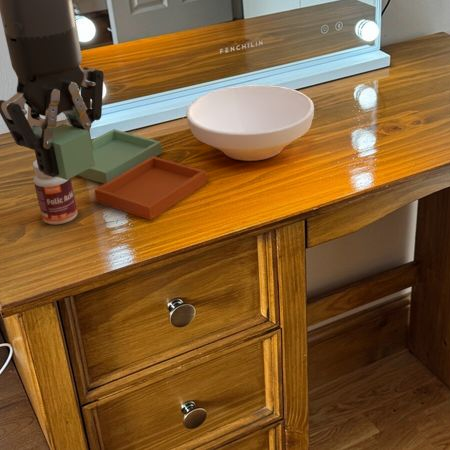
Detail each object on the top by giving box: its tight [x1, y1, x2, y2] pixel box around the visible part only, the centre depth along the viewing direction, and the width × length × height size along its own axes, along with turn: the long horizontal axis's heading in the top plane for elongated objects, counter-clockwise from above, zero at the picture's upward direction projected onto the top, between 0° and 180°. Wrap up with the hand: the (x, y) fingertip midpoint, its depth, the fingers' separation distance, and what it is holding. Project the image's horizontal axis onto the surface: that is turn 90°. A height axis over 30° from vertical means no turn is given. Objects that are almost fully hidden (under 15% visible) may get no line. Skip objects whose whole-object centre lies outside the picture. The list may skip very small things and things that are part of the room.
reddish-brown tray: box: [94, 156, 208, 221], centre depth 109 cm, size 12×10×2 cm
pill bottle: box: [32, 159, 78, 225], centre depth 102 cm, size 5×5×8 cm
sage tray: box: [77, 128, 164, 185], centre depth 118 cm, size 12×10×2 cm
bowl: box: [185, 84, 315, 162], centre depth 119 cm, size 20×20×7 cm
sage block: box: [41, 123, 95, 180], centre depth 90 cm, size 4×4×4 cm
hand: (67, 165), depth 91 cm, fingers closed on sage block, 4 cm apart
